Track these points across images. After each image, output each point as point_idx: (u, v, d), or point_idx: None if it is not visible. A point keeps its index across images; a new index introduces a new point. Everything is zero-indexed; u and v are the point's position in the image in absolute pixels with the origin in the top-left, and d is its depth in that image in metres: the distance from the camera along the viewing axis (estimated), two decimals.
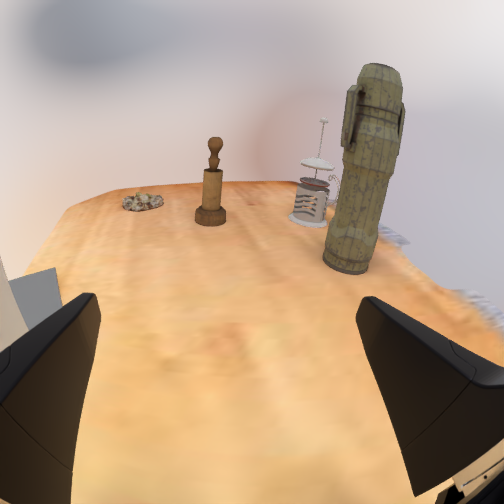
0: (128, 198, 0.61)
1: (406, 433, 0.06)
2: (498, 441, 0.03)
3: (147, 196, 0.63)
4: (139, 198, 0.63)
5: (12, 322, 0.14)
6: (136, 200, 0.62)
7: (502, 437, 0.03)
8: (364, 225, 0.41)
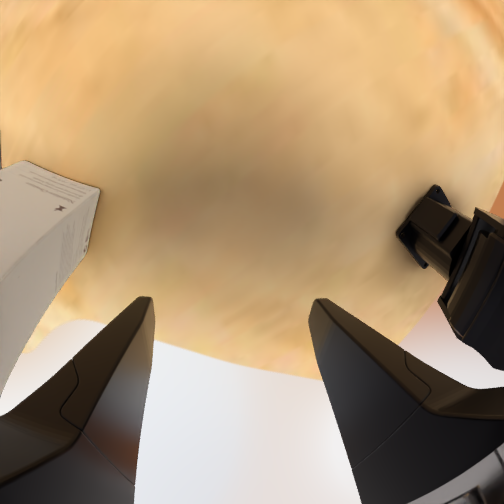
0: None
1: (355, 451, 0.06)
2: (451, 478, 0.03)
3: None
4: None
5: None
6: None
7: (456, 475, 0.03)
8: None
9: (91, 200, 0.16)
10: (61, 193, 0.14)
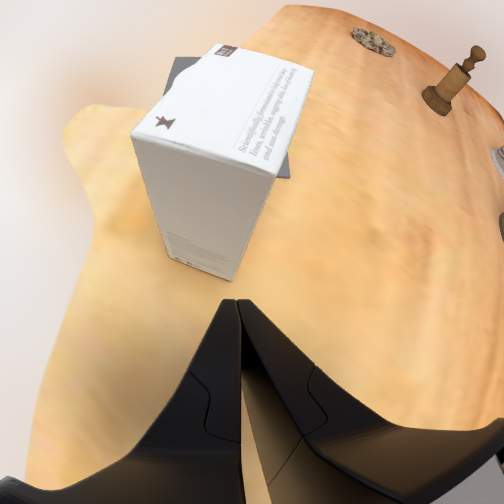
0: (361, 31, 0.40)
1: (267, 469, 0.05)
2: None
3: (382, 41, 0.40)
4: (373, 37, 0.40)
5: None
6: (369, 37, 0.40)
7: None
8: None
9: (231, 276, 0.21)
10: None
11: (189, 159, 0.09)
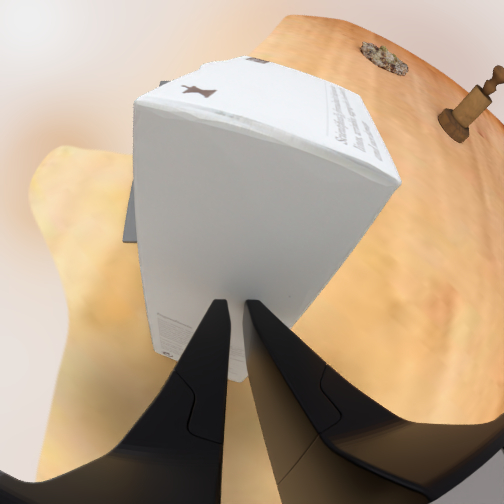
0: (372, 46, 0.37)
1: (277, 468, 0.05)
2: None
3: (394, 57, 0.37)
4: (384, 53, 0.38)
5: None
6: (380, 53, 0.37)
7: None
8: None
9: (242, 376, 0.14)
10: None
11: (245, 149, 0.05)
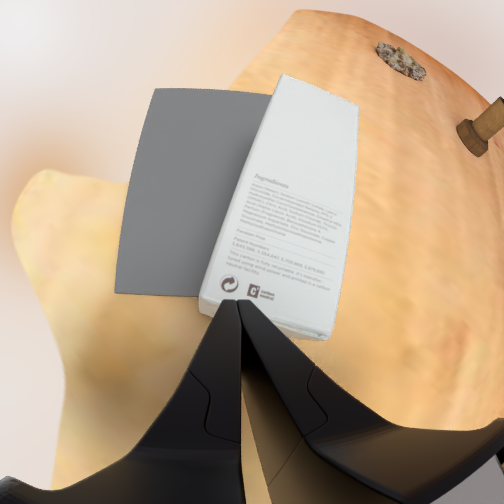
0: (388, 47, 0.33)
1: (267, 469, 0.05)
2: None
3: (411, 60, 0.33)
4: (402, 56, 0.33)
5: None
6: (397, 56, 0.33)
7: None
8: None
9: (335, 297, 0.11)
10: None
11: (318, 90, 0.15)
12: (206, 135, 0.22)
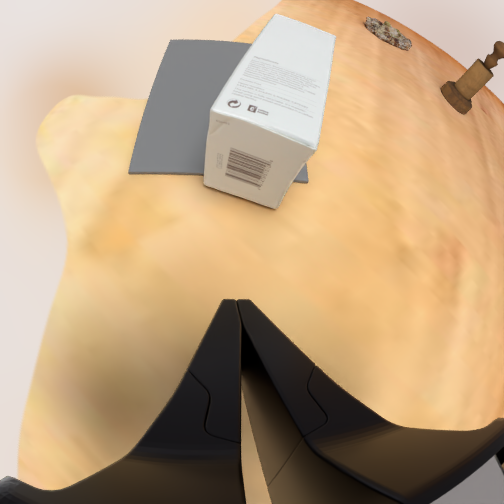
0: (375, 21, 0.34)
1: (267, 469, 0.05)
2: None
3: (397, 32, 0.34)
4: (388, 28, 0.34)
5: None
6: (384, 28, 0.34)
7: None
8: None
9: (318, 122, 0.13)
10: None
11: (302, 23, 0.17)
12: (214, 68, 0.24)
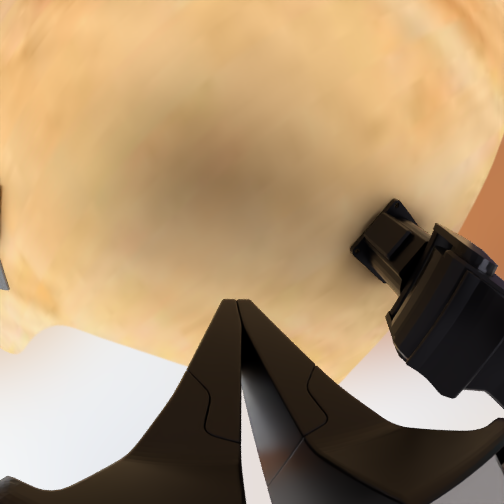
0: None
1: (267, 469, 0.05)
2: None
3: None
4: None
5: None
6: None
7: None
8: None
9: None
10: None
11: None
12: None
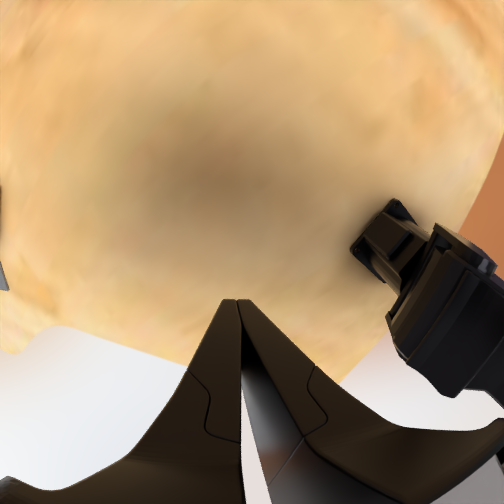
0: None
1: (267, 469, 0.05)
2: None
3: None
4: None
5: None
6: None
7: None
8: None
9: None
10: None
11: None
12: None
